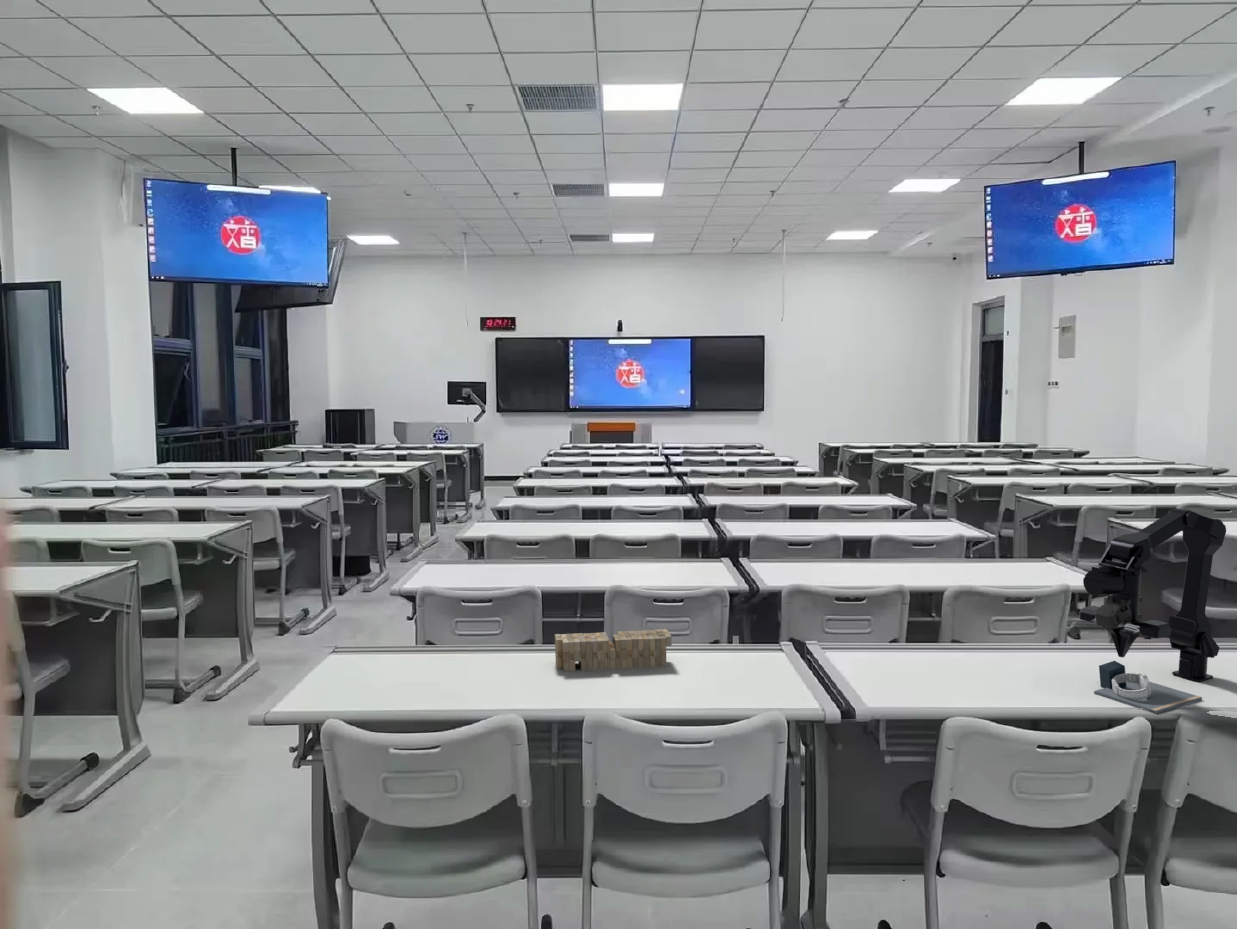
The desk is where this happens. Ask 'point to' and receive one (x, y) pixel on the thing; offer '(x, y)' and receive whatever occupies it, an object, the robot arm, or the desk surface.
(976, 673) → the desk surface
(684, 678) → the desk surface
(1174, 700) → the mat
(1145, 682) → the watch
